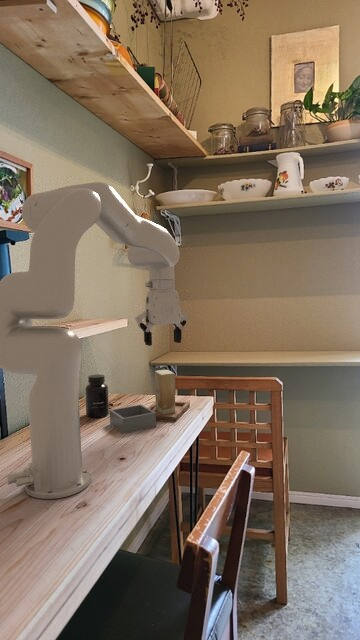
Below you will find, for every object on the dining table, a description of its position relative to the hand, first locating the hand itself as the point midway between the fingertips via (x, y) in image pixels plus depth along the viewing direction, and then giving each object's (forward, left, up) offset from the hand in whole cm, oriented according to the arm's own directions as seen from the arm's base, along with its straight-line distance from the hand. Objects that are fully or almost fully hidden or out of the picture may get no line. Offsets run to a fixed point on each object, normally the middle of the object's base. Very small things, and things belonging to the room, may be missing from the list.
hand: (163, 343), depth 132 cm
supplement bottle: (-18, +10, -21) cm, 30 cm away
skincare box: (0, 0, -21) cm, 21 cm away
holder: (-13, -5, -21) cm, 25 cm away
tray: (0, 0, -21) cm, 21 cm away
